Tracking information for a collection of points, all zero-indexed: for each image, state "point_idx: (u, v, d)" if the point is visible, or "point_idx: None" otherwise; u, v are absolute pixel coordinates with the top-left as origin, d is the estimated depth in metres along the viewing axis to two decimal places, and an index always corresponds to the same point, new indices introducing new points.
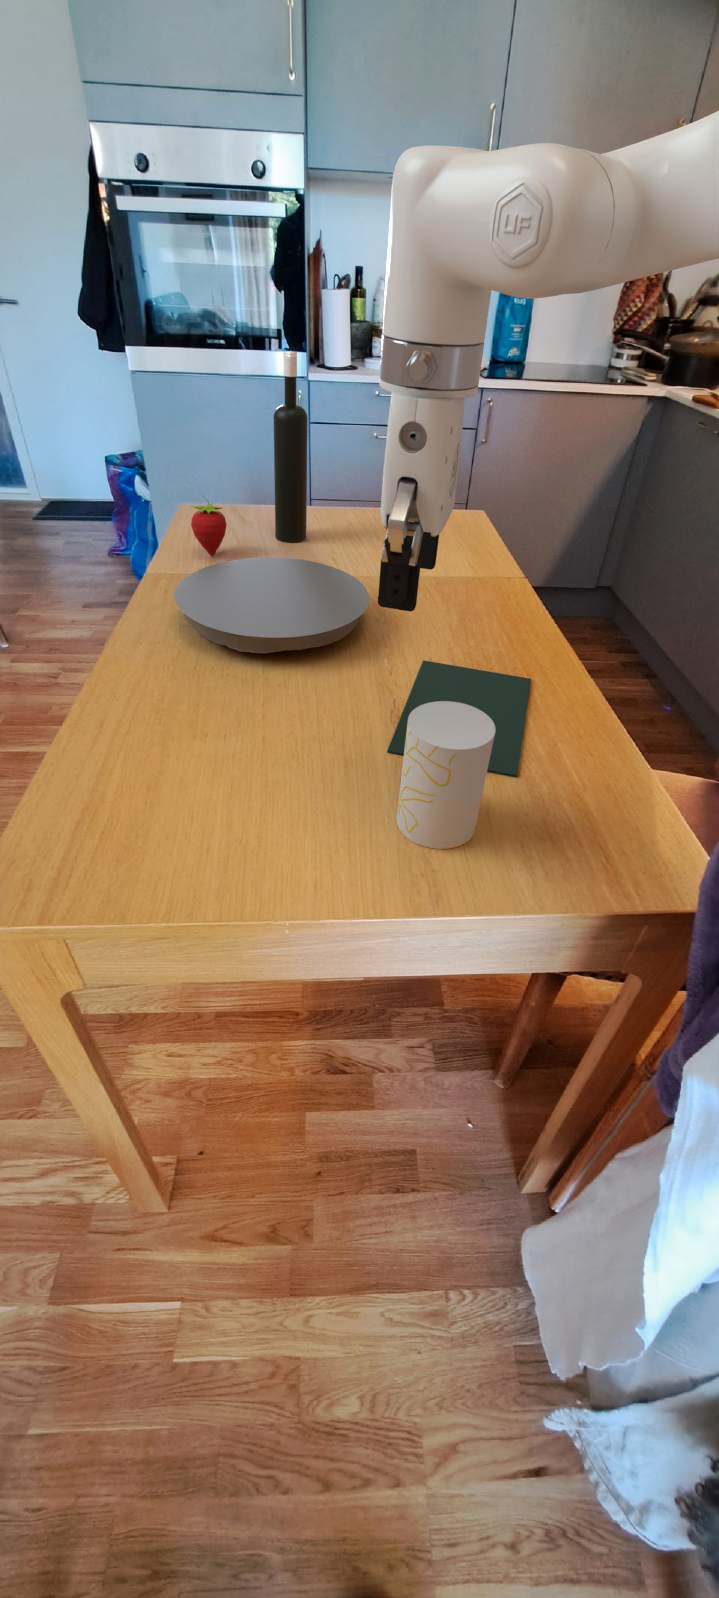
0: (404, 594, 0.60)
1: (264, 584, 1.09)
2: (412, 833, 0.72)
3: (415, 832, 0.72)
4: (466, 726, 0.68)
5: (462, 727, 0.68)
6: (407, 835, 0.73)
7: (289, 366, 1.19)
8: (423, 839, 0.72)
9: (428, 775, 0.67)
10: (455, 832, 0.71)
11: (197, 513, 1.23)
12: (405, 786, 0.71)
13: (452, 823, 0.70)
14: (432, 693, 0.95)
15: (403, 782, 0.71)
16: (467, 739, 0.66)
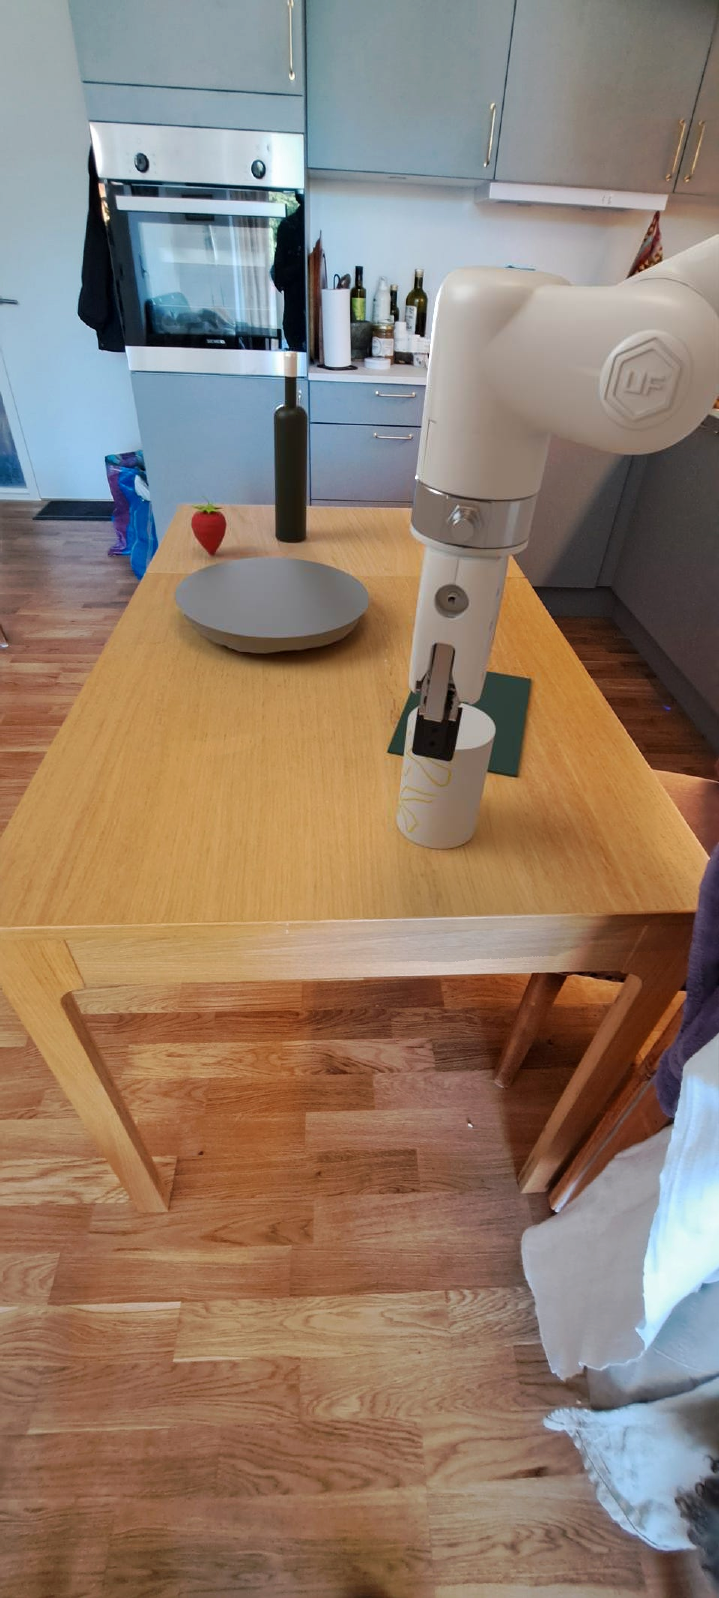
0: (442, 747, 0.55)
1: (264, 584, 1.09)
2: (412, 833, 0.72)
3: (415, 832, 0.72)
4: (466, 726, 0.68)
5: (462, 727, 0.68)
6: (407, 835, 0.73)
7: (289, 366, 1.19)
8: (423, 839, 0.72)
9: (428, 775, 0.67)
10: (455, 832, 0.71)
11: (197, 513, 1.23)
12: (405, 786, 0.71)
13: (452, 823, 0.70)
14: None
15: (403, 782, 0.71)
16: (467, 739, 0.66)
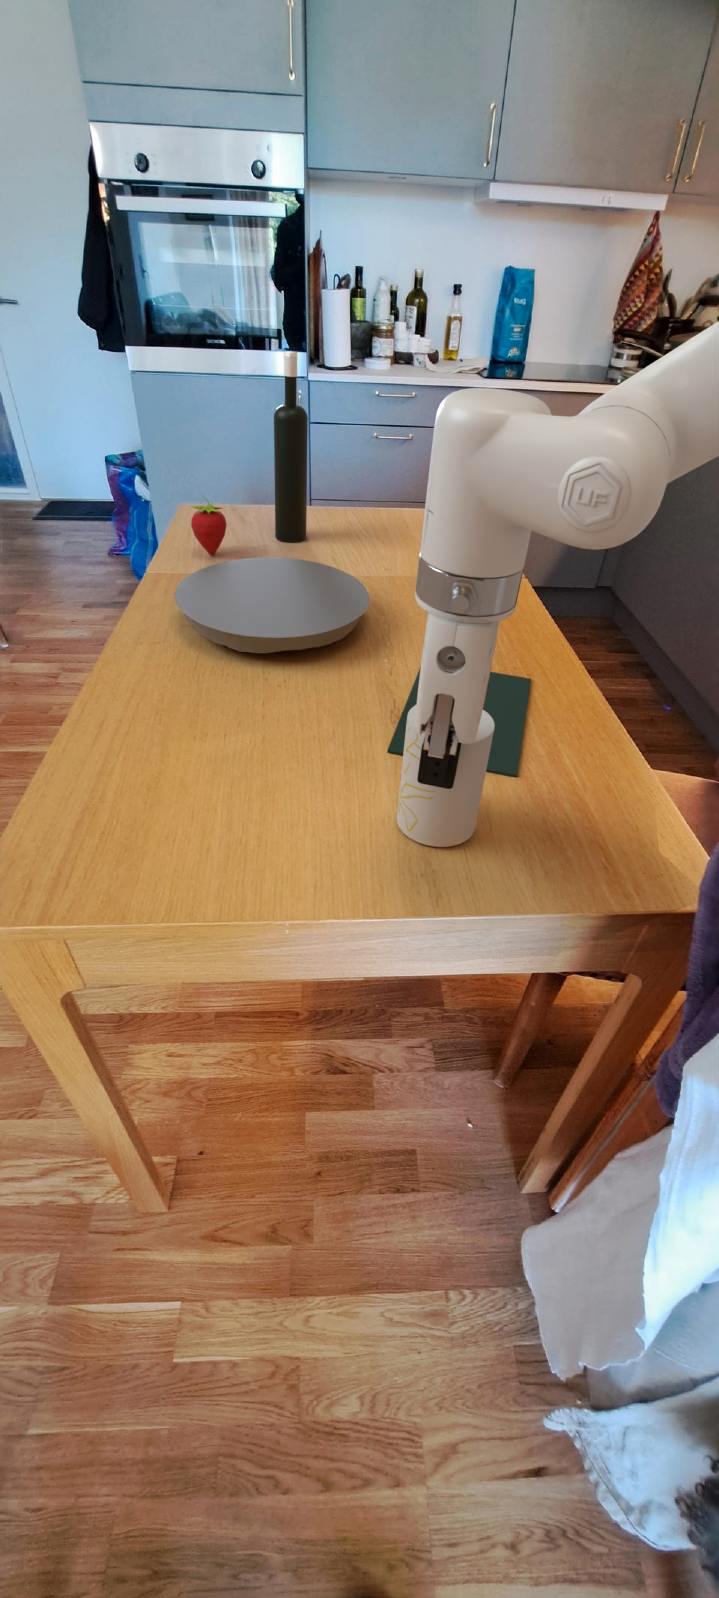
0: (443, 777, 0.63)
1: (264, 584, 1.09)
2: (412, 831, 0.72)
3: (415, 830, 0.72)
4: None
5: None
6: (407, 833, 0.73)
7: (289, 366, 1.19)
8: (423, 837, 0.72)
9: None
10: (455, 829, 0.71)
11: (197, 513, 1.23)
12: (405, 783, 0.71)
13: (452, 820, 0.70)
14: None
15: (403, 779, 0.71)
16: None
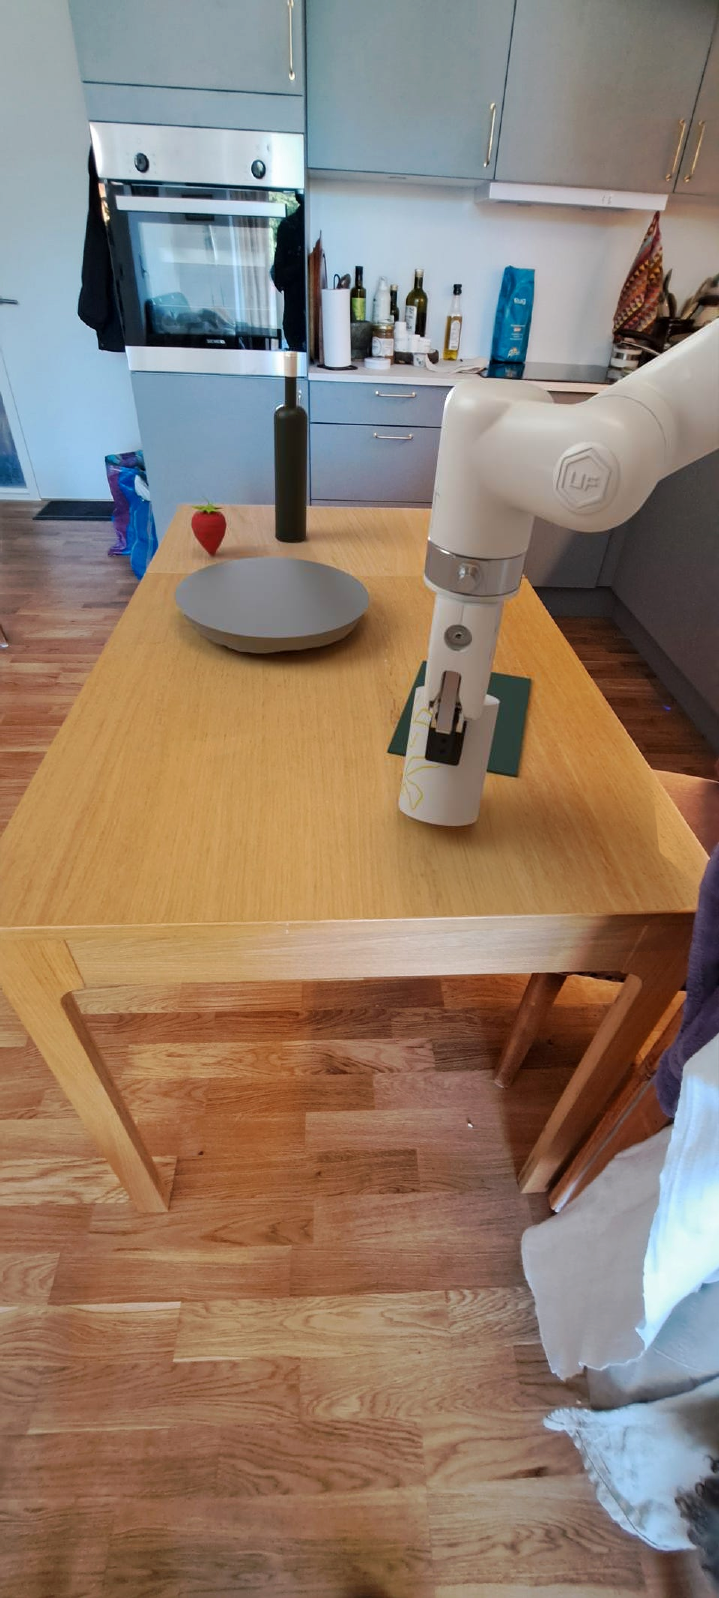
0: (450, 754, 0.66)
1: (264, 584, 1.09)
2: (416, 809, 0.72)
3: (420, 807, 0.71)
4: None
5: None
6: (411, 813, 0.72)
7: (289, 366, 1.19)
8: (428, 814, 0.71)
9: None
10: (460, 806, 0.71)
11: (197, 513, 1.23)
12: (411, 758, 0.71)
13: (457, 794, 0.70)
14: None
15: (409, 756, 0.72)
16: None
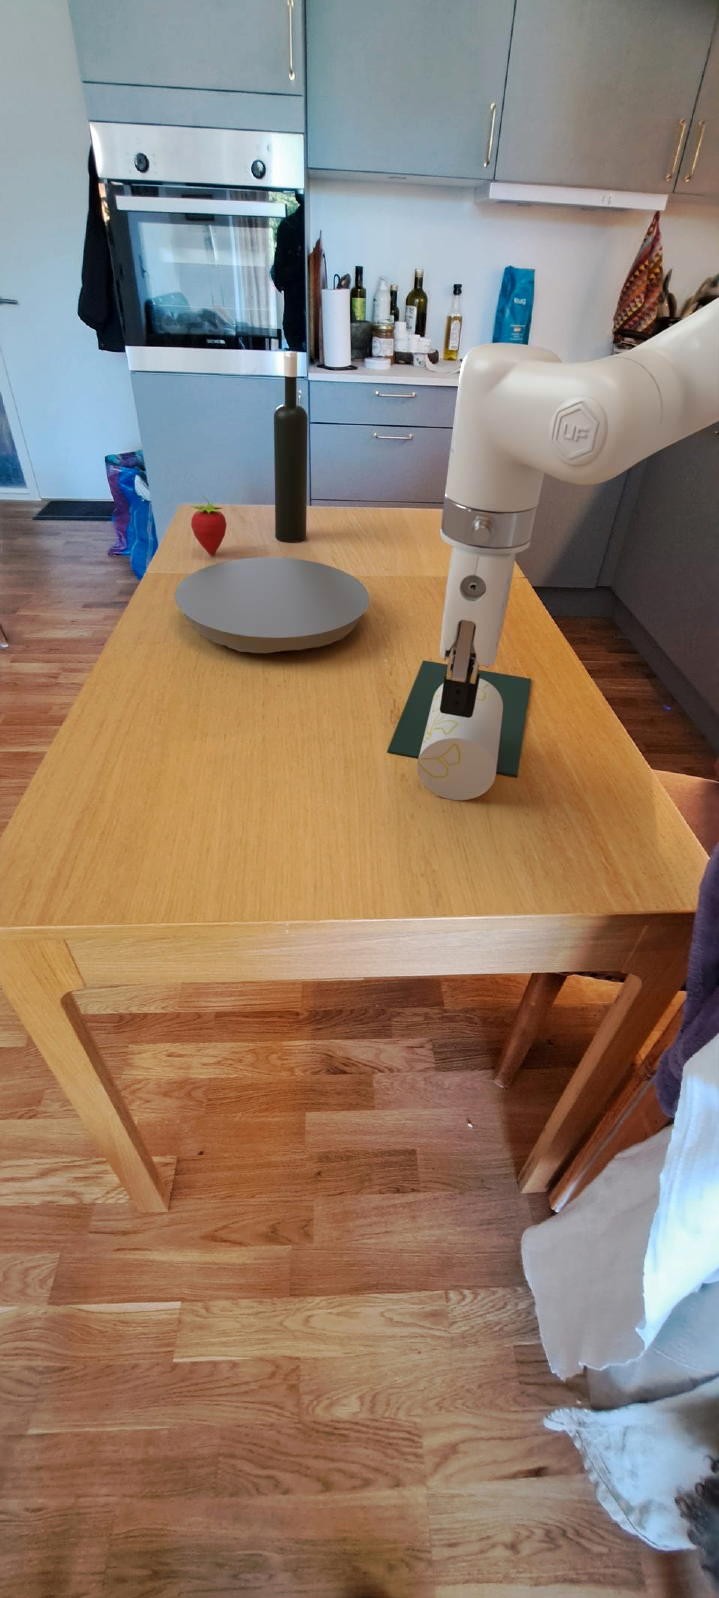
0: (464, 705, 0.69)
1: (264, 584, 1.09)
2: (452, 732, 0.74)
3: (455, 730, 0.74)
4: None
5: None
6: (445, 737, 0.74)
7: (289, 366, 1.19)
8: (464, 734, 0.74)
9: None
10: (490, 741, 0.75)
11: (197, 513, 1.23)
12: None
13: (488, 731, 0.76)
14: (432, 693, 0.95)
15: (436, 714, 0.79)
16: None
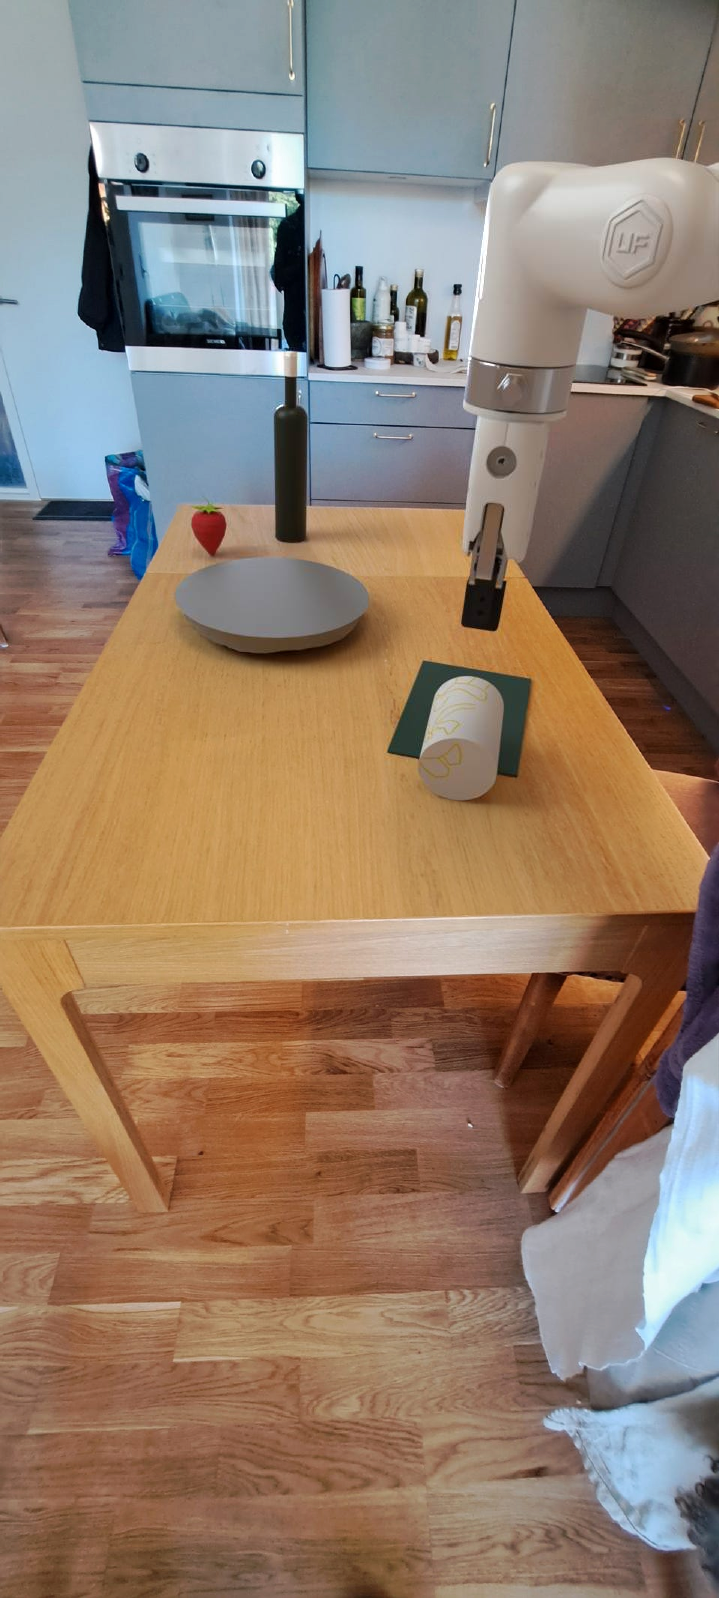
0: (489, 615, 0.62)
1: (264, 584, 1.09)
2: (453, 732, 0.74)
3: (457, 730, 0.74)
4: None
5: None
6: (447, 737, 0.74)
7: (289, 366, 1.19)
8: (466, 734, 0.74)
9: (469, 692, 0.80)
10: (491, 742, 0.75)
11: (197, 513, 1.23)
12: (443, 710, 0.78)
13: (489, 731, 0.76)
14: (432, 693, 0.95)
15: (438, 714, 0.79)
16: None
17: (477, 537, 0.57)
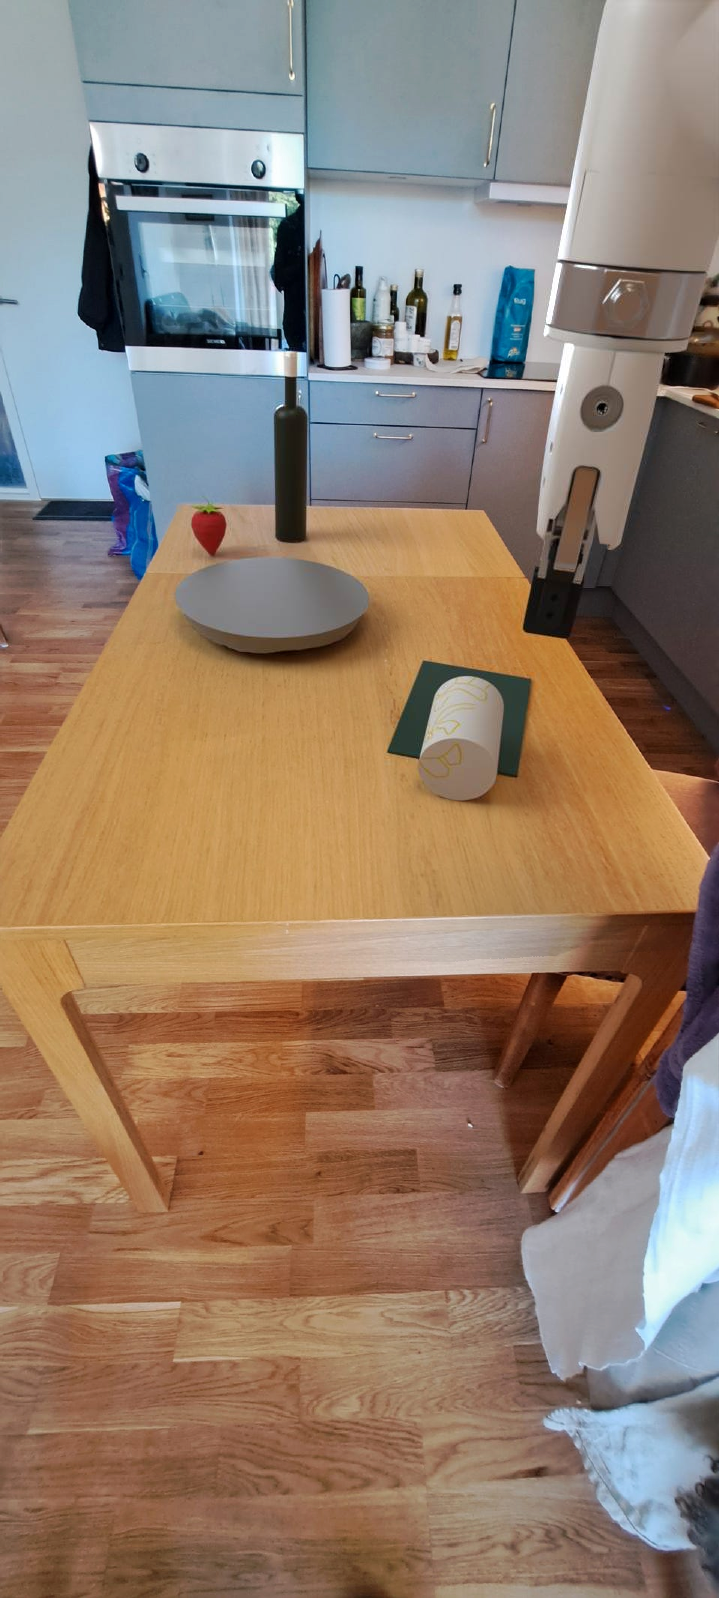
0: (561, 618, 0.48)
1: (264, 584, 1.09)
2: (453, 732, 0.74)
3: (457, 730, 0.74)
4: None
5: None
6: (447, 737, 0.74)
7: (289, 366, 1.19)
8: (466, 734, 0.74)
9: (469, 692, 0.80)
10: (491, 742, 0.75)
11: (197, 513, 1.23)
12: (443, 710, 0.78)
13: (489, 731, 0.76)
14: (432, 693, 0.95)
15: (438, 714, 0.79)
16: None
17: None
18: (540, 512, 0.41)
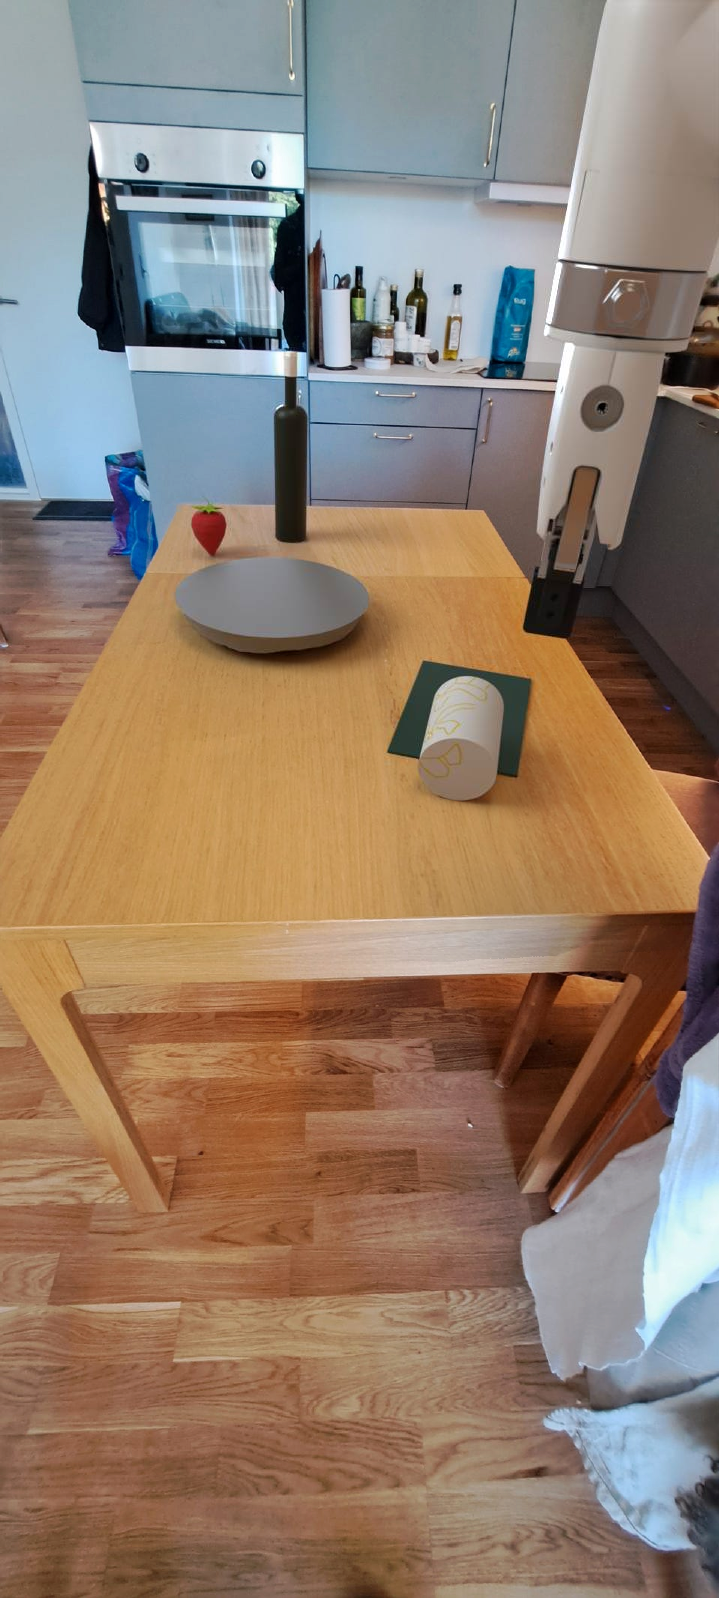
0: (561, 618, 0.48)
1: (264, 584, 1.09)
2: (453, 732, 0.74)
3: (457, 730, 0.74)
4: None
5: None
6: (447, 737, 0.74)
7: (289, 366, 1.19)
8: (466, 734, 0.74)
9: (469, 692, 0.80)
10: (491, 742, 0.75)
11: (197, 513, 1.23)
12: (443, 710, 0.78)
13: (489, 731, 0.76)
14: (432, 693, 0.95)
15: (438, 714, 0.79)
16: None
17: None
18: (540, 512, 0.41)
